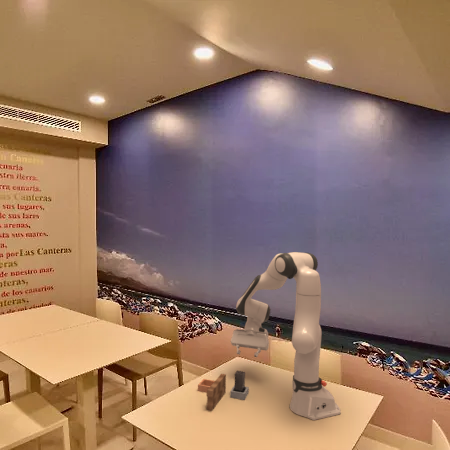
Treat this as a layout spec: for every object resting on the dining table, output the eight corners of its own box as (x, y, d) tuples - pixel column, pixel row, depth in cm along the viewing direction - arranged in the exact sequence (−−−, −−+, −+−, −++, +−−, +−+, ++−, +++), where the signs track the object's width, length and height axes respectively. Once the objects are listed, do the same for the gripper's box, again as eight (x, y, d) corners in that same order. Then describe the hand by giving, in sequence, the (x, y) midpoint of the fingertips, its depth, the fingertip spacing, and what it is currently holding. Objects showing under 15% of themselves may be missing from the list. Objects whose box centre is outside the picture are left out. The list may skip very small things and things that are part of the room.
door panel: (217, 391, 175) (218, 373, 174) (225, 392, 173) (225, 374, 173) (203, 409, 158) (204, 389, 158) (212, 411, 156) (212, 391, 156)
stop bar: (236, 392, 173) (237, 370, 173) (244, 394, 172) (245, 371, 172) (234, 396, 170) (234, 373, 169) (242, 398, 168) (242, 375, 168)
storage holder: (234, 390, 175) (234, 384, 175) (248, 393, 173) (248, 387, 173) (230, 397, 169) (230, 391, 169) (244, 400, 166) (244, 393, 166)
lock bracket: (203, 384, 181) (203, 378, 181) (216, 387, 179) (216, 381, 179) (197, 390, 174) (197, 384, 174) (211, 393, 172) (211, 387, 172)
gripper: (232, 325, 192) (226, 349, 183) (269, 330, 185) (265, 355, 176) (235, 331, 196) (229, 355, 187) (271, 336, 189) (266, 360, 180)
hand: (246, 355), depth 182 cm, fingers open, 8 cm apart
